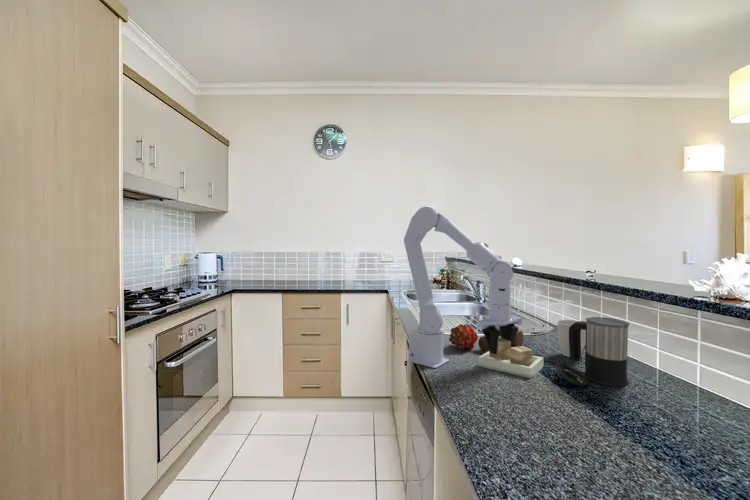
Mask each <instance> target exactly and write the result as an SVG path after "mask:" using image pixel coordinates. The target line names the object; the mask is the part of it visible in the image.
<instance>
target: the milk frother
mask: <svg viewBox="0 0 750 500" xmlns="http://www.w3.org/2000/svg"><path fill="white" fill-rule="evenodd" d="M578 321H579V322H576V323H574V324H572V325H571V326H570V328H569V349H570V360H571V361H573V362H574V361H575V362H576V361H577V362H578V361H580V360H581V359H582V358H581V336H580V332H581V330H582V329H583V330H586V345H585V350H584V354H585V356H584V372H583V371H581V370H579V369H577V368H576V367H573V366H572V365H568V364H567V363H561V362H560V363H557V364H556V365H555V370H556V372H557V373H558V375H559V376H560V377H561V378H563V379H564V381H567V382H568V383H570V385H575V386H580V387H581V386H586V385H588V382H589V381H592V382H594V383H597V384H600V385H605V386H611V387H624V386H628V384H629V380H628V342H629V341H628V339H629V338H628V337H629V334H628V333H629V326H630V322H628V321H626V320H624V319H623V320H622V319H617V318H611V317H601V316H590V317H586V318H585V320H584V321H583V320H578Z"/></svg>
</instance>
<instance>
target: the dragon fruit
mask: <svg viewBox="0 0 750 500" xmlns="http://www.w3.org/2000/svg"><path fill="white" fill-rule="evenodd" d="M478 337H479V335H478V334H477V332H476V329H474V327H473V326H471V325H470V324H468V323H465V324H459V325H457V326H455V327H451V329H450V334H449V338H448V339H449V342H450V343H451V344H452V345H454V346H456V347H457V349H459V350H461V351H464V350H465V349H468V350H469V349H471V350H473V349H474V346H475V344H476V342H477V341H478V340H479V338H478Z"/></svg>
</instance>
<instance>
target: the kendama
mask: <svg viewBox="0 0 750 500" xmlns="http://www.w3.org/2000/svg"><path fill="white" fill-rule="evenodd" d="M495 328H496V330H499V331H500V329H499V327H495ZM498 338H501V333H500V334H499V337H498ZM523 343H524V332H523V331H522V330H518V331H517V333H516V334H515V336H514V338H513V341H512V344H511V345H513V347H519V346H523ZM478 347H479V349H480V350H481V351H482V352H485V353H486V352H488V351H489V347H488V343H487V340H486V338H485V336H484V335H483V336H480V337H479V338H478Z"/></svg>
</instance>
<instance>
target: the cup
mask: <svg viewBox="0 0 750 500" xmlns="http://www.w3.org/2000/svg"><path fill="white" fill-rule="evenodd" d="M579 321H580V320H575V319H574V320H573V319H561V320H557V322H556V325H557V338H558V342H559V347H560V350H561V354H562V356H563V355H564V357H565V356H567V357H566V358H569V357H570V349H569V328H570V326H571V325H572V324H574V323H576V322H579ZM580 336H581V357H582V358H583V355H584V354H585V345H586V330H583V329H582V330H581V332H580Z"/></svg>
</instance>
